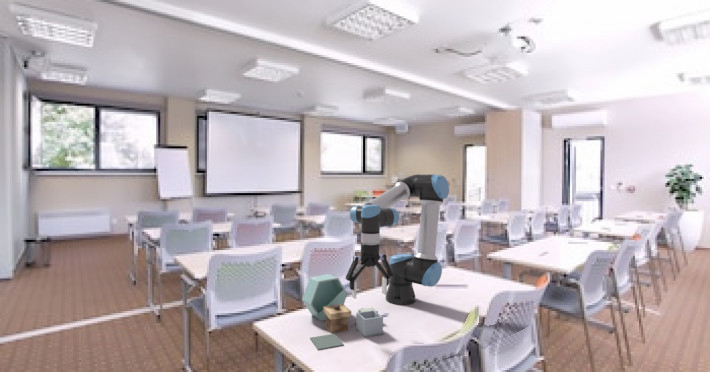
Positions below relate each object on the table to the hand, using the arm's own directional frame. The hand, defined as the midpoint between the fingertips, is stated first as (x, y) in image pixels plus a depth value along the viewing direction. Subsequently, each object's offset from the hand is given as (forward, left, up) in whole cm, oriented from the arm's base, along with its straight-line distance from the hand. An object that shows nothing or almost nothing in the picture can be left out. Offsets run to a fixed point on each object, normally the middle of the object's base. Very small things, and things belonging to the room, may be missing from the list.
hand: (369, 295), depth 148 cm
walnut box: (+11, -8, -15) cm, 20 cm away
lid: (+11, -8, -9) cm, 16 cm away
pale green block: (-4, -10, -15) cm, 18 cm away
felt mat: (+19, +2, -15) cm, 24 cm away
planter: (+11, -23, -15) cm, 29 cm away
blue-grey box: (0, 0, -15) cm, 15 cm away
